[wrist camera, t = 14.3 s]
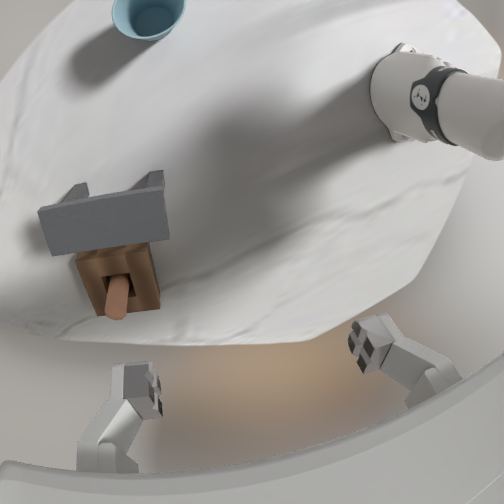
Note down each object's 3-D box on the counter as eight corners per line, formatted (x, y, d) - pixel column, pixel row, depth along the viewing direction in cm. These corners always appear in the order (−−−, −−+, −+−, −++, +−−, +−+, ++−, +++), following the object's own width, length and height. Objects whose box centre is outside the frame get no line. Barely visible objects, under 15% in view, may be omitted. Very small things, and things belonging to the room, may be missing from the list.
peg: (110, 265, 48) (101, 304, 40) (128, 262, 48) (122, 302, 40) (114, 280, 50) (108, 320, 42) (132, 278, 50) (128, 318, 42)
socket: (147, 238, 47) (146, 251, 44) (160, 293, 54) (160, 308, 50) (80, 247, 45) (75, 261, 41) (100, 301, 51) (97, 316, 48)
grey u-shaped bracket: (165, 156, 41) (162, 189, 30) (169, 194, 44) (169, 239, 33) (69, 173, 38) (37, 211, 27) (77, 208, 41) (52, 256, 30)
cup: (114, 25, 28) (97, 11, 19) (158, -11, 26) (155, -36, 18) (150, 58, 32) (142, 52, 24) (193, 22, 31) (200, 5, 22)
